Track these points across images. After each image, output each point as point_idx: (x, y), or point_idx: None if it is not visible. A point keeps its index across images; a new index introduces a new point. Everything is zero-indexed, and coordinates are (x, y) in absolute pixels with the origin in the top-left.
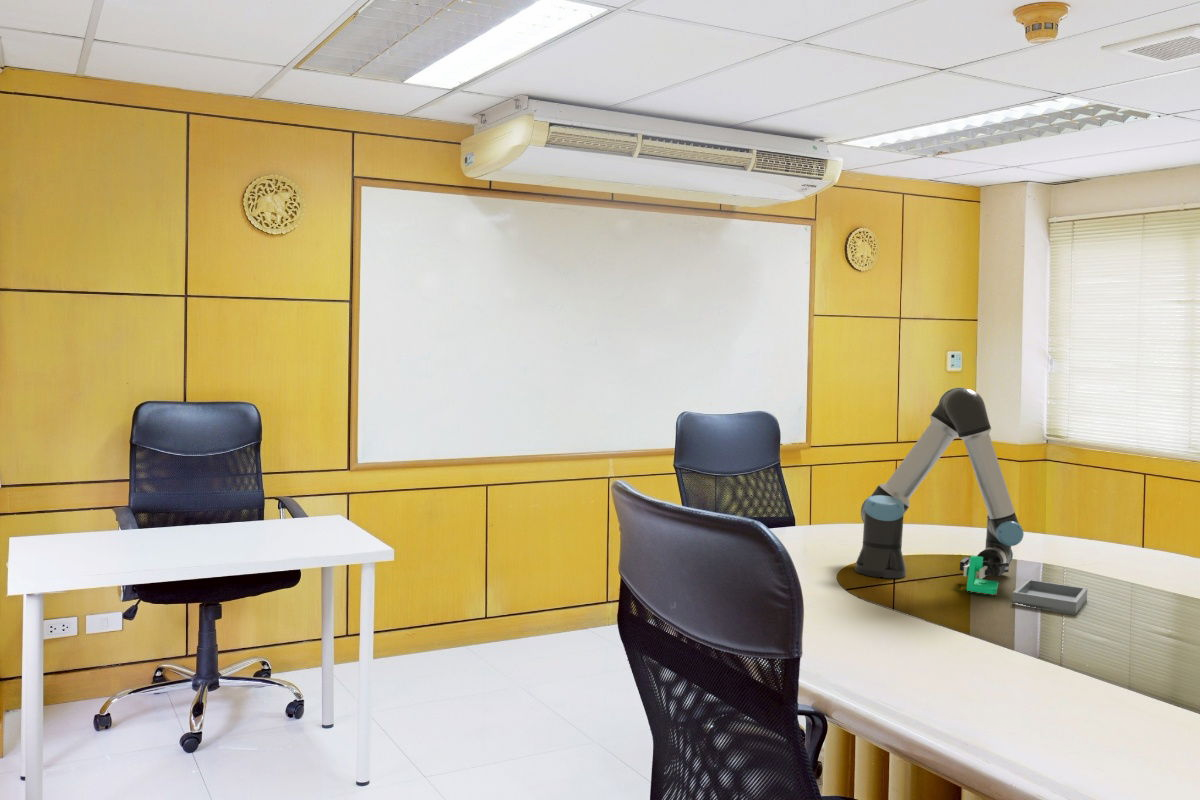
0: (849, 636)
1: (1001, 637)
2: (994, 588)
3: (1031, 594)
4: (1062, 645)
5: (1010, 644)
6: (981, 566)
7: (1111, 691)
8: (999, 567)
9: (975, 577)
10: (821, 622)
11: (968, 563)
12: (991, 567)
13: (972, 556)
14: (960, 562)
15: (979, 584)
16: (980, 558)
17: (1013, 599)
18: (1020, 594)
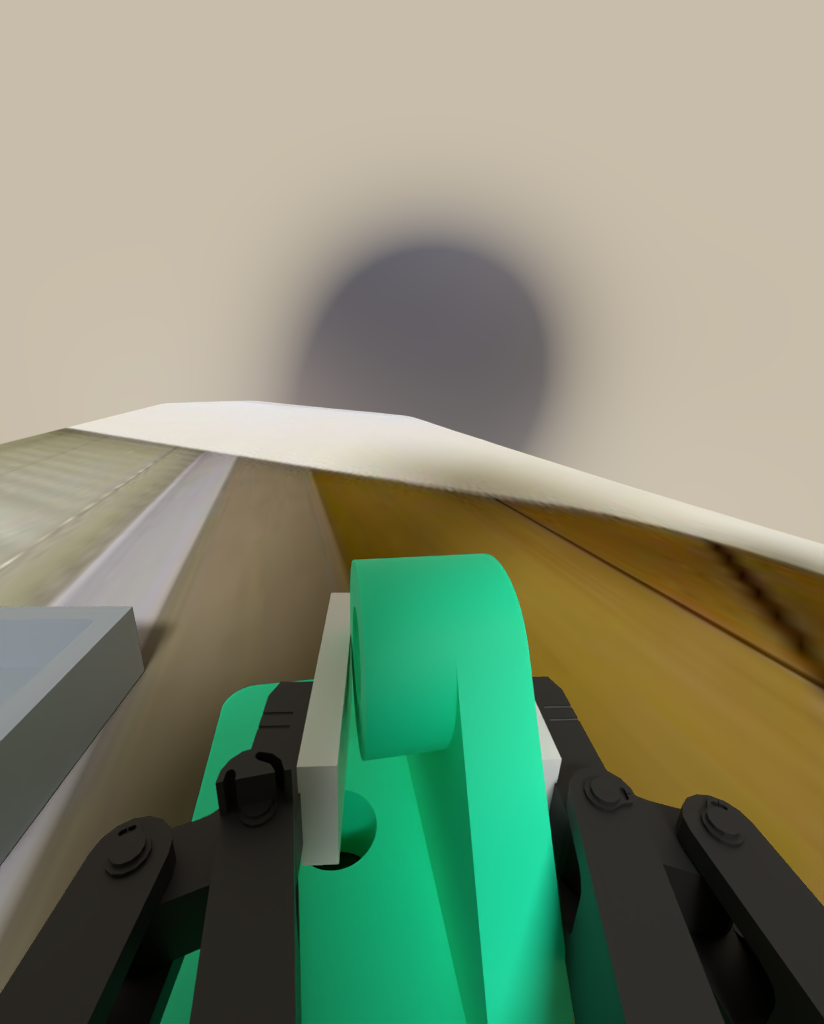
0: (447, 442)
1: (252, 472)
2: (232, 704)
3: (7, 617)
4: (132, 476)
5: (240, 463)
6: (350, 612)
7: (140, 431)
8: (67, 890)
9: (438, 855)
10: (509, 451)
11: (586, 780)
12: (235, 794)
13: (467, 554)
14: (720, 804)
15: (357, 751)
16: (374, 560)
17: (133, 645)
18: (88, 611)
